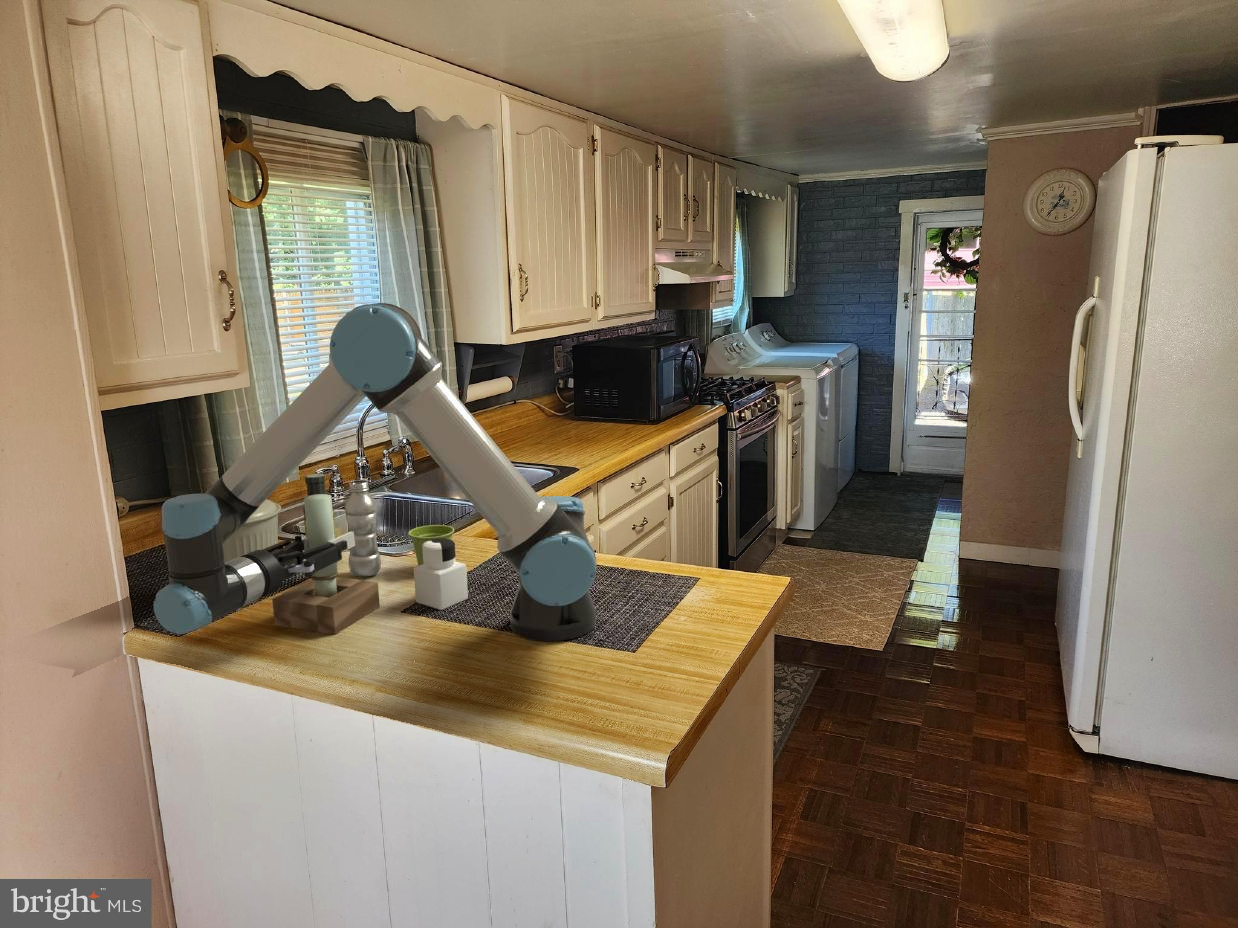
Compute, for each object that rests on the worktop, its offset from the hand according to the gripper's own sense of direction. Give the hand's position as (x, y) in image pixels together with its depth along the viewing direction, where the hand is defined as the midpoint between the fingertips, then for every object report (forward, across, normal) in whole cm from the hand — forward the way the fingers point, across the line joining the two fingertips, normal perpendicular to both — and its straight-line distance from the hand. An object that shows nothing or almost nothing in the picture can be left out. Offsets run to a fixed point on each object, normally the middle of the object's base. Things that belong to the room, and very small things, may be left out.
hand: (340, 537), depth 157 cm
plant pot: (+23, +5, -14) cm, 27 cm away
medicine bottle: (+8, +16, -14) cm, 22 cm away
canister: (0, -25, -14) cm, 28 cm away
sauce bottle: (+19, -20, -14) cm, 31 cm away
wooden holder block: (-5, 0, -14) cm, 15 cm away
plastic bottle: (+16, -7, -14) cm, 22 cm away
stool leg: (-5, 0, -11) cm, 12 cm away
